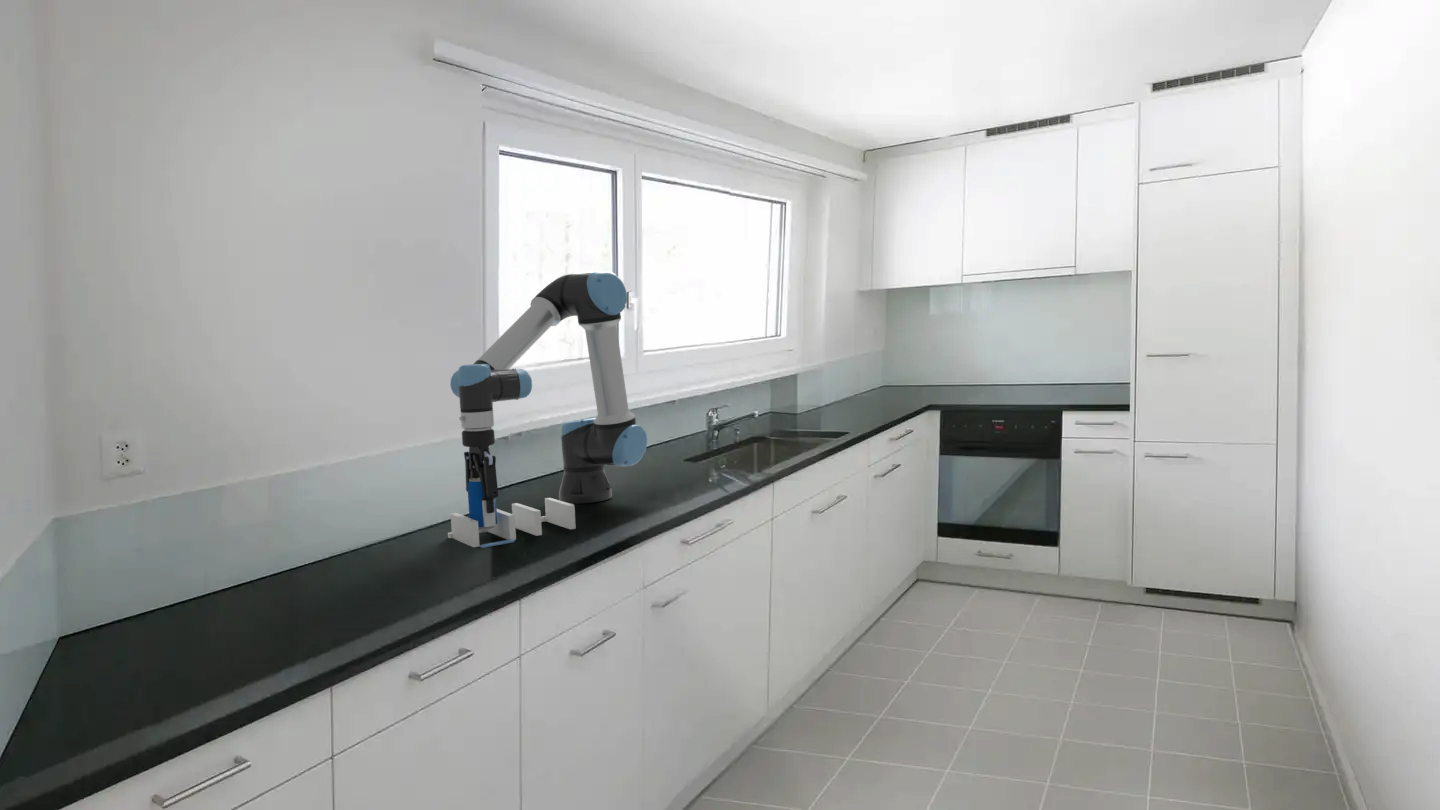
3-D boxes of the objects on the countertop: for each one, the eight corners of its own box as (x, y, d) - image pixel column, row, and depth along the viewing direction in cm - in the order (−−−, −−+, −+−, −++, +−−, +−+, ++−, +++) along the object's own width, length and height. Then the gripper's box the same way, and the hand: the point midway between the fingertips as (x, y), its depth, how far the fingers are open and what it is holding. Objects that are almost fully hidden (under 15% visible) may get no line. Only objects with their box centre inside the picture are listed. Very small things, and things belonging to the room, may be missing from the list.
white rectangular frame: (551, 519, 254) (550, 496, 253) (578, 528, 242) (576, 504, 242) (448, 537, 237) (446, 513, 237) (470, 547, 226) (469, 522, 225)
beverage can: (490, 530, 230) (487, 480, 229) (465, 530, 231) (462, 480, 230) (502, 524, 236) (499, 476, 235) (477, 524, 238) (474, 476, 236)
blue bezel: (511, 540, 231) (511, 539, 231) (514, 541, 230) (514, 540, 230) (479, 546, 227) (479, 545, 227) (482, 547, 225) (482, 546, 225)
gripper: (447, 427, 237) (454, 520, 239) (478, 433, 221) (485, 532, 224) (477, 424, 241) (482, 515, 244) (509, 430, 226) (515, 527, 228)
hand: (483, 523), depth 234 cm, fingers closed on beverage can, 6 cm apart
